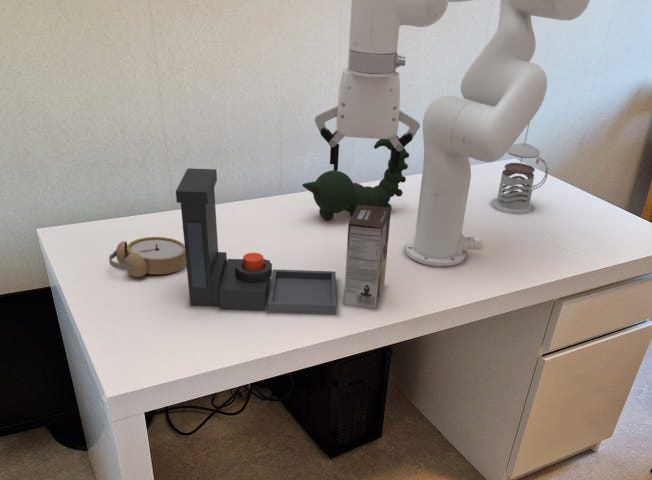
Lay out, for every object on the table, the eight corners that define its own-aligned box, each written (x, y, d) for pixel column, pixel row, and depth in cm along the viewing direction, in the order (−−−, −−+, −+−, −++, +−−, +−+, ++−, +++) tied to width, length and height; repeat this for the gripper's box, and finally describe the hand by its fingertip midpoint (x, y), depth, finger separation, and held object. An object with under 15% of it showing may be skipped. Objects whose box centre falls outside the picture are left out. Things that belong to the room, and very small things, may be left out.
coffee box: (352, 281, 129) (357, 202, 119) (384, 286, 128) (392, 207, 119) (342, 304, 121) (347, 222, 112) (377, 309, 120) (385, 227, 111)
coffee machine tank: (228, 279, 127) (222, 169, 115) (220, 308, 118) (213, 192, 106) (197, 278, 127) (187, 168, 115) (187, 307, 118) (175, 190, 106)
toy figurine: (385, 209, 164) (291, 212, 154) (399, 131, 154) (299, 129, 144) (404, 224, 157) (306, 228, 147) (419, 143, 147) (316, 142, 137)
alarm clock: (197, 254, 129) (121, 259, 120) (195, 277, 131) (120, 283, 122) (173, 233, 136) (100, 236, 127) (171, 256, 139) (99, 260, 130)
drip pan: (335, 280, 129) (335, 271, 128) (335, 315, 118) (336, 305, 117) (272, 278, 128) (272, 269, 127) (267, 313, 118) (267, 303, 117)
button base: (274, 279, 128) (273, 251, 125) (269, 311, 118) (269, 281, 115) (228, 278, 128) (227, 249, 124) (220, 309, 118) (218, 280, 114)
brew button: (264, 263, 121) (264, 252, 120) (262, 272, 118) (262, 261, 117) (244, 262, 121) (244, 252, 120) (242, 271, 118) (242, 261, 117)
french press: (490, 197, 170) (509, 94, 155) (536, 201, 169) (560, 98, 154) (493, 211, 162) (513, 105, 147) (541, 216, 161) (566, 109, 146)
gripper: (424, 61, 107) (412, 166, 117) (318, 55, 107) (314, 160, 117) (428, 71, 101) (415, 180, 111) (315, 64, 101) (312, 174, 111)
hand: (363, 170), depth 114 cm, fingers open, 9 cm apart
